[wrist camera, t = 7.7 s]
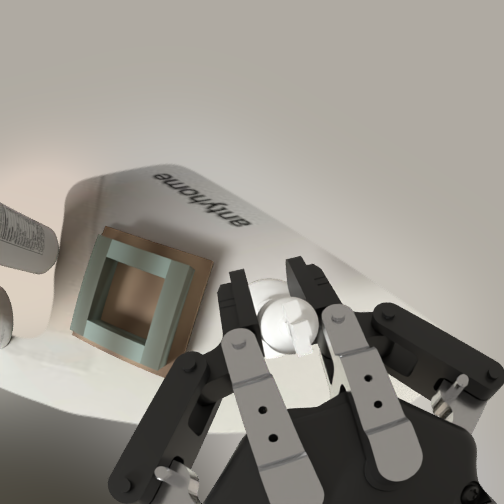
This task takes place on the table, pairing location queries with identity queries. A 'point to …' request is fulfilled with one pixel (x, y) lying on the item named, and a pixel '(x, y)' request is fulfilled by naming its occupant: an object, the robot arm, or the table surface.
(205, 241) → the table surface
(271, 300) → the chess piece
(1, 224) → the energy drink can
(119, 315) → the socket board
